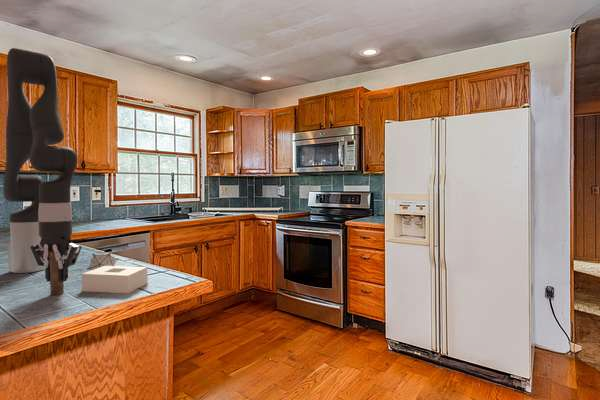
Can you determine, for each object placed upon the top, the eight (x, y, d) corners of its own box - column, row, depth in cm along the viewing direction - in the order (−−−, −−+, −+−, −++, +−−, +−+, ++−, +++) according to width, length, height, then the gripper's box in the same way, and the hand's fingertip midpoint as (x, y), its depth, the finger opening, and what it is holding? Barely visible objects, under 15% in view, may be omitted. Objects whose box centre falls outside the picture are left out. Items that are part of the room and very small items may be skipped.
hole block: (81, 291, 98) (81, 273, 98) (105, 281, 108) (104, 265, 108) (128, 293, 97) (128, 275, 96) (147, 283, 107) (147, 267, 106)
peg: (47, 295, 94) (46, 251, 94) (56, 291, 97) (55, 249, 97) (57, 295, 94) (56, 252, 93) (66, 292, 97) (65, 250, 96)
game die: (97, 288, 113) (75, 267, 108) (104, 273, 120) (83, 253, 116) (122, 275, 113) (101, 253, 108) (127, 260, 121) (107, 240, 116)
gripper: (19, 220, 92) (21, 284, 92) (68, 221, 90) (70, 286, 91) (43, 217, 99) (45, 276, 100) (89, 218, 98) (90, 278, 98)
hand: (56, 280), depth 95 cm, fingers closed on peg, 3 cm apart
